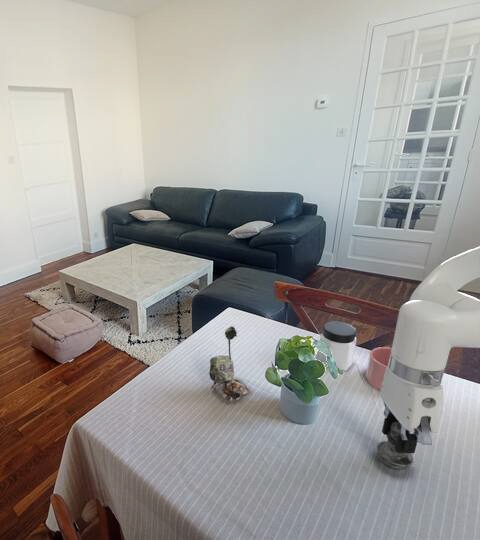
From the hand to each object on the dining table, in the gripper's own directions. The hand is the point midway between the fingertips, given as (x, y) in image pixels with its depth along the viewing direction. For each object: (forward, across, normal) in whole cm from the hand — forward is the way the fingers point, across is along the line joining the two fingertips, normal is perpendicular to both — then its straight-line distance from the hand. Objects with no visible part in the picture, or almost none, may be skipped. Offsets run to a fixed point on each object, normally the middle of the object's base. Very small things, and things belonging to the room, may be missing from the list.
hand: (397, 441), depth 68 cm
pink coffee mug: (+7, +26, -15) cm, 31 cm away
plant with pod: (+7, +21, +30) cm, 37 cm away
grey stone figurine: (+7, 0, 0) cm, 7 cm away
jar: (+7, +35, -3) cm, 36 cm away
